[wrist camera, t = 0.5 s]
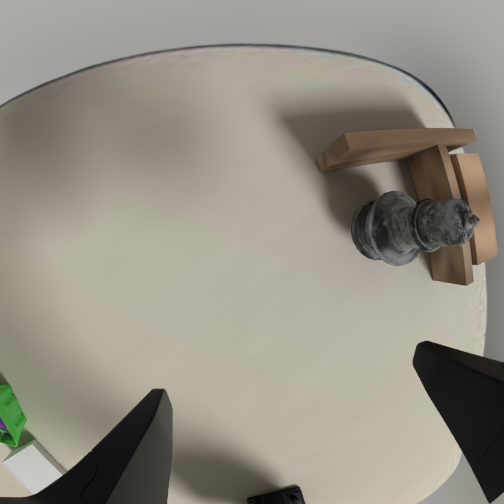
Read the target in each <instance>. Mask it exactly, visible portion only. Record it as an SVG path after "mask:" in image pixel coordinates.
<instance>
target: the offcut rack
mask: <svg viewBox="0 0 504 504" xmlns="http://www.w3.org/2000/svg"><path fill="white" fill-rule="evenodd" d="M475 141H477V140H476V137H475V135H474V132H473V129H457V128H410V129H387V130H372V131H360V132H350V133H344V134H343V135H342V136H340V137H339V138H338V139H337V140H336V141H335V142H334V143H333V144H332V145H331V146H330V147H329V148H328V149H327V150H326V151H325V152H324V153H322V154H321V155H320V156H319V157H318V158H317V162H318V165H319V169H320V172H325V171H330V170H336V169H342V168H348V167H354V166H360V165H367V164H373V163H380V162H387V161H395V160H403V159H407V162H408V165H409V168H410V171H411V175H412V178H413V182H414V185H415V189H416V193H417V197H418V200H419V201H420V200H421V199H425V198H430V199H433V200H435V201H436V202H438V201H443V200H448V199H453V198H456V199H461V196H460V192H459V188H458V184H457V180H456V176H455V173H454V169H453V166H452V163H451V159H450V156H449V153H448V152H450V151H453V150H455V149H458V148H460V147H463V146H465V145H467V144H470V143H472V142H475ZM429 255H430V261H431V268H432V276H433V280H434V281H441V282H447V283H453V284H459V285H465V286H467V285H468V284H470V283H472V282H473V269H472V259H471V251H470V243H469V241H468V242H467V243H466V244H464V245H462V246H441V247H440V248H439V249H438V250H436V251H434V252H429Z"/></svg>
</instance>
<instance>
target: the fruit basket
mask: <svg viewBox="0 0 504 504" xmlns="http://www.w3.org/2000/svg"><path fill="white" fill-rule="evenodd" d="M25 422H26V417H25V416H24V414H23V413H22V410H21V408H20V406H19V404H18V401H17V399H16V397H15V396H14V394H13V392H12V388H11V386H10V385H5V384H3V385H1V384H0V442H1V443H4V444H7V445H10V446H13V447H17V445H18V442H19V437H20V434H21V432H22V429H23V427H24V425H25Z"/></svg>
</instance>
